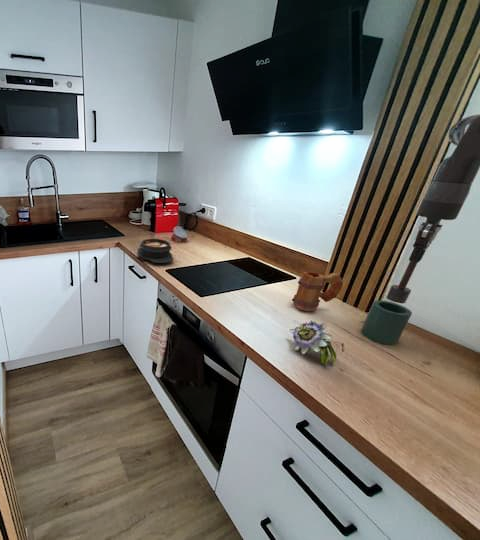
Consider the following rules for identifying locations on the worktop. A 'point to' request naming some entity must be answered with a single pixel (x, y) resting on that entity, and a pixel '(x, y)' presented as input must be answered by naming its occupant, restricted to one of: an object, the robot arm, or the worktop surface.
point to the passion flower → (314, 340)
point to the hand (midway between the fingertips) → (414, 260)
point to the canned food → (179, 235)
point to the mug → (315, 290)
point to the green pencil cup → (385, 322)
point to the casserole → (155, 250)
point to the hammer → (402, 285)
